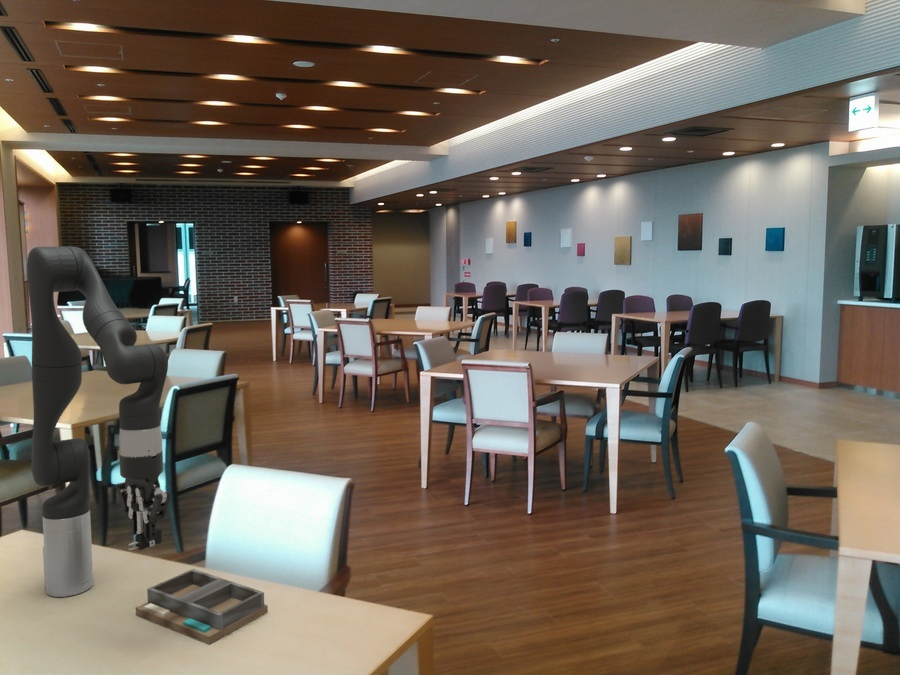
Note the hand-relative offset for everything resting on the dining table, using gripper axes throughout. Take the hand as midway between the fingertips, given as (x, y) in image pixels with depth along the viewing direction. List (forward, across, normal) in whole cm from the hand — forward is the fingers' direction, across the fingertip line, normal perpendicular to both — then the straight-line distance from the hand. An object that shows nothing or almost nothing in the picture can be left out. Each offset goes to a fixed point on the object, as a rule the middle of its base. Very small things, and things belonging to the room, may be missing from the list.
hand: (144, 538), depth 138 cm
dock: (+19, +2, +11) cm, 22 cm away
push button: (+2, 0, 0) cm, 2 cm away
